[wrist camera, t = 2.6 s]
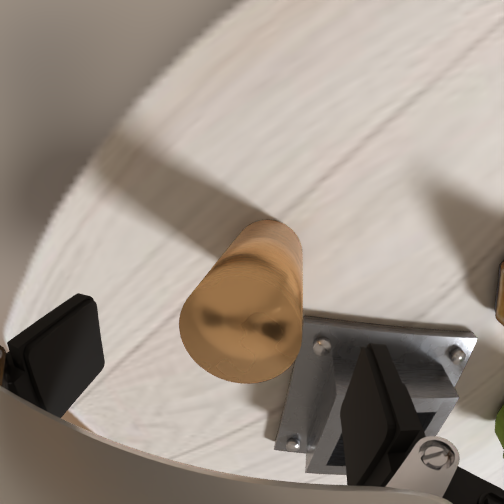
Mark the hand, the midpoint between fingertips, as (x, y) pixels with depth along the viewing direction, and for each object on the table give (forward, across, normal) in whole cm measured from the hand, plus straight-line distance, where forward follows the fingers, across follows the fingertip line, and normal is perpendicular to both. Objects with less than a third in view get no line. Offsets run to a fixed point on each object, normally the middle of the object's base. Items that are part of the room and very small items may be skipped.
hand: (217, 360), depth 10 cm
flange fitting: (+11, -11, +10) cm, 19 cm away
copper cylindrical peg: (+11, -1, -1) cm, 11 cm away
